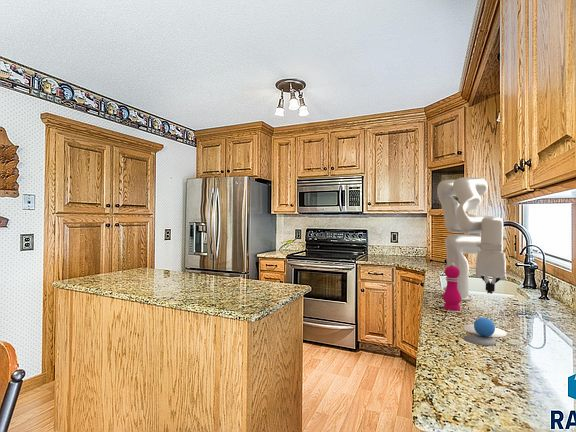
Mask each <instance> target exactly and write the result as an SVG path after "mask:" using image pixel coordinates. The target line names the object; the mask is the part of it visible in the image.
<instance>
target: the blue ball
mask: <svg viewBox="0 0 576 432" xmlns="http://www.w3.org/2000/svg"><path fill="white" fill-rule="evenodd" d="M473 324H474V329H475V331H476V332H477V333H478V334H479V336H480V335H481V336H484V337H488V336H491V335H492V334H493V333H494V331H495V328H496V325H495V324H494V321H492V319H491V320H490V318H486V317H478V318H477V319H476V320H474V323H473ZM488 338H489V337H488Z"/></svg>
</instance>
